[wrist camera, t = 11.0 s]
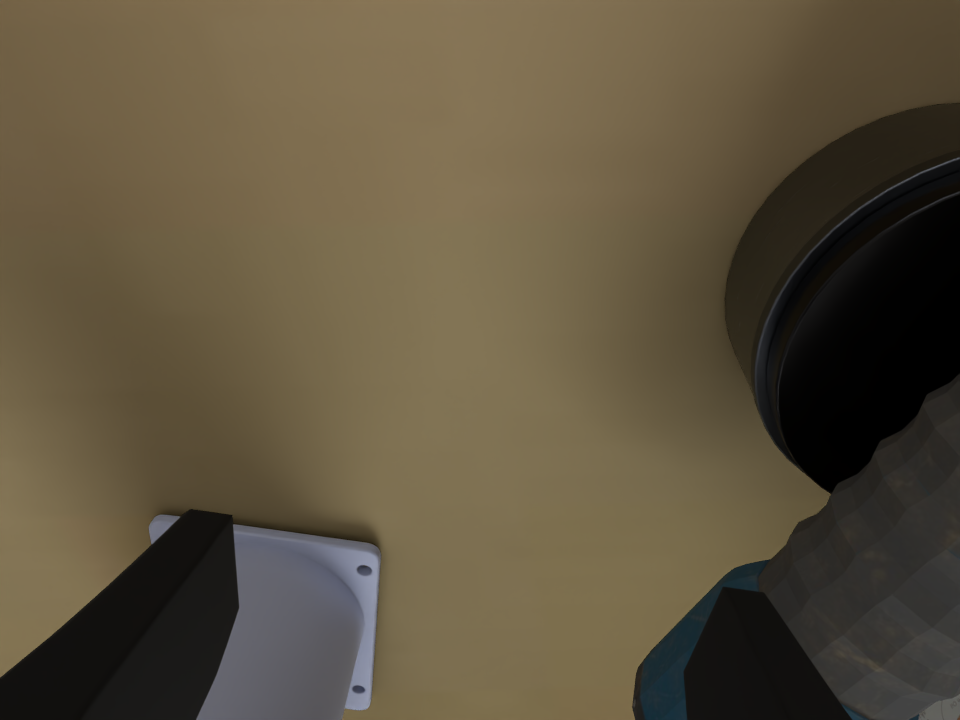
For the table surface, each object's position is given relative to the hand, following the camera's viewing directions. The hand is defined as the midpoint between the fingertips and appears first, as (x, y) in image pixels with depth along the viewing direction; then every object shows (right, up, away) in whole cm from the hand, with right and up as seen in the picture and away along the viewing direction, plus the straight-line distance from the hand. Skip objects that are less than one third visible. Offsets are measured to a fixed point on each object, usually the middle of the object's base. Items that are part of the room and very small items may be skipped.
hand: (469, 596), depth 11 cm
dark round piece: (+11, +6, +8) cm, 15 cm away
